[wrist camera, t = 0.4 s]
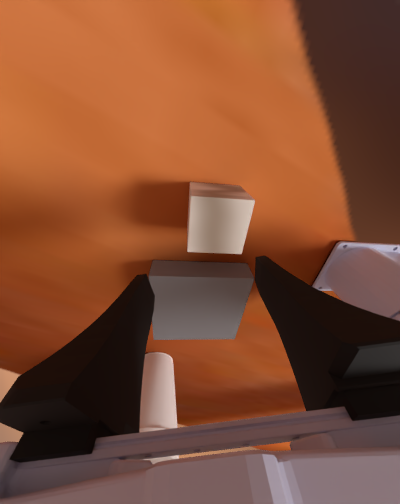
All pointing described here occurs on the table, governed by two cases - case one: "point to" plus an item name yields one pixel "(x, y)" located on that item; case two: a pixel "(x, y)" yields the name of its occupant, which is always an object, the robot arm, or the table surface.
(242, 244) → the cream cube
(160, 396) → the foam cup
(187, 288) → the charcoal plinth
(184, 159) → the table surface
